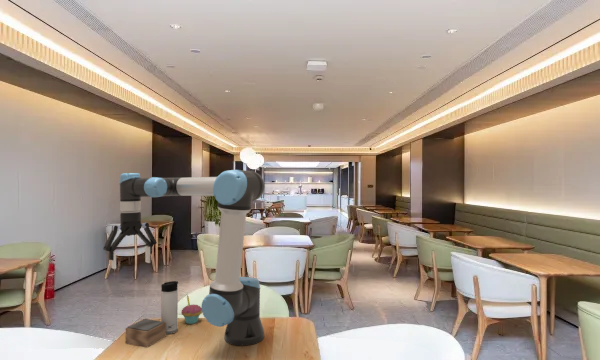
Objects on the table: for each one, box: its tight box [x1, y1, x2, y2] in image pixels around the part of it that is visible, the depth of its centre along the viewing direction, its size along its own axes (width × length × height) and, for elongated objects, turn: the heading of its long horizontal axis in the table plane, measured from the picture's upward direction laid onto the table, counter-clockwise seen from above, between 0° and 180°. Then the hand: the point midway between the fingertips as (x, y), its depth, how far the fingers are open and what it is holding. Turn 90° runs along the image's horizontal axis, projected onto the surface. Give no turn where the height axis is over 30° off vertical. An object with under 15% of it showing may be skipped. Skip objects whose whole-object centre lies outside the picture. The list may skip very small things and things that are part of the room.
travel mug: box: [160, 280, 179, 335], centre depth 156 cm, size 6×7×20 cm
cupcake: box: [181, 294, 203, 325], centre depth 166 cm, size 9×8×12 cm
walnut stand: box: [125, 318, 167, 348], centre depth 147 cm, size 10×10×6 cm
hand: (131, 265), depth 154 cm, fingers open, 13 cm apart
